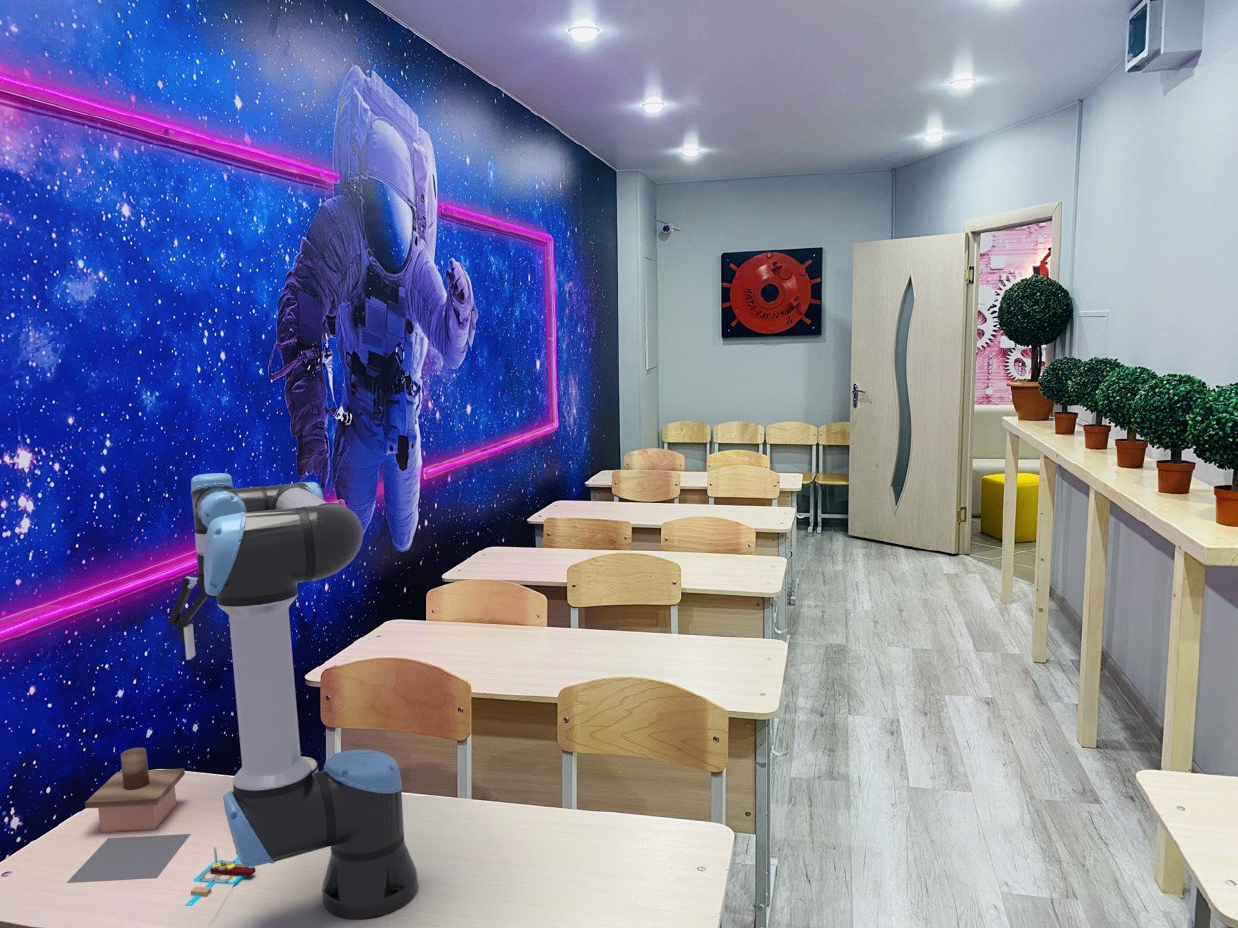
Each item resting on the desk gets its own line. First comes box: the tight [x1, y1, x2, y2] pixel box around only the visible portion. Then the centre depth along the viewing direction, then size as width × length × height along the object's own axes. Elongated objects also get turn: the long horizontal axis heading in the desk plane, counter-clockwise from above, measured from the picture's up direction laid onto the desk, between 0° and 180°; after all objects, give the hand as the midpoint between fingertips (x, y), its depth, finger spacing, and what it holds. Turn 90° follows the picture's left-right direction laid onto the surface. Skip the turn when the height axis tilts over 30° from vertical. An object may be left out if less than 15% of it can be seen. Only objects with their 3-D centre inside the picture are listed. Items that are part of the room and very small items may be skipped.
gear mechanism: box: [184, 847, 256, 907], centre depth 166 cm, size 20×5×9 cm
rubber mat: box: [66, 833, 191, 884], centre depth 172 cm, size 15×15×1 cm
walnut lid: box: [84, 747, 186, 809], centre depth 186 cm, size 13×13×8 cm
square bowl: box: [97, 785, 177, 833], centre depth 186 cm, size 10×10×6 cm
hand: (225, 656), depth 194 cm, fingers open, 13 cm apart
